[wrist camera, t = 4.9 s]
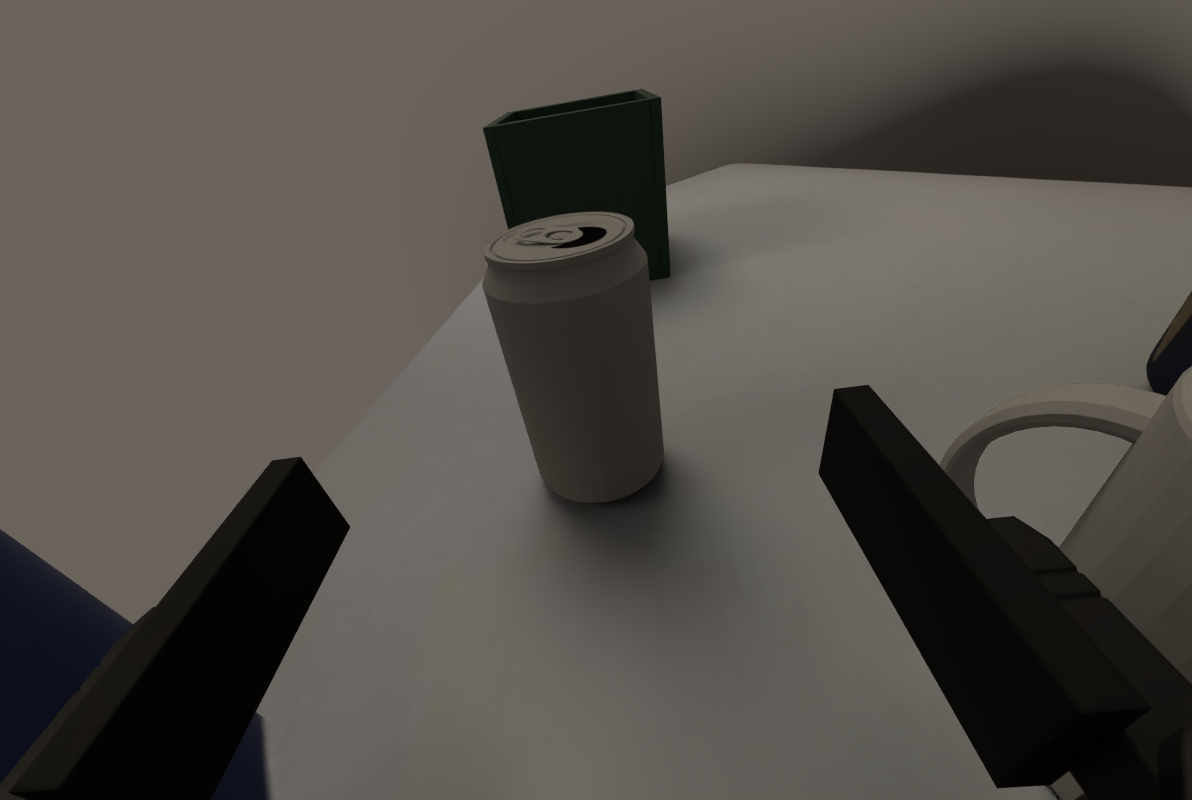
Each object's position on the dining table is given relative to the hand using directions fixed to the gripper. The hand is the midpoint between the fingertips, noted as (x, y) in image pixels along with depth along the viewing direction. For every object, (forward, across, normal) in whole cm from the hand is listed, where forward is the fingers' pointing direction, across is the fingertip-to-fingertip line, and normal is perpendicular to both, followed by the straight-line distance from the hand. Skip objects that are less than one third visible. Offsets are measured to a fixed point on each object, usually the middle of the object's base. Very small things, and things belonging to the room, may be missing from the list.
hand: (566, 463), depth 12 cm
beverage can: (+9, 0, -9) cm, 13 cm away
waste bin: (+39, 0, -9) cm, 40 cm away
